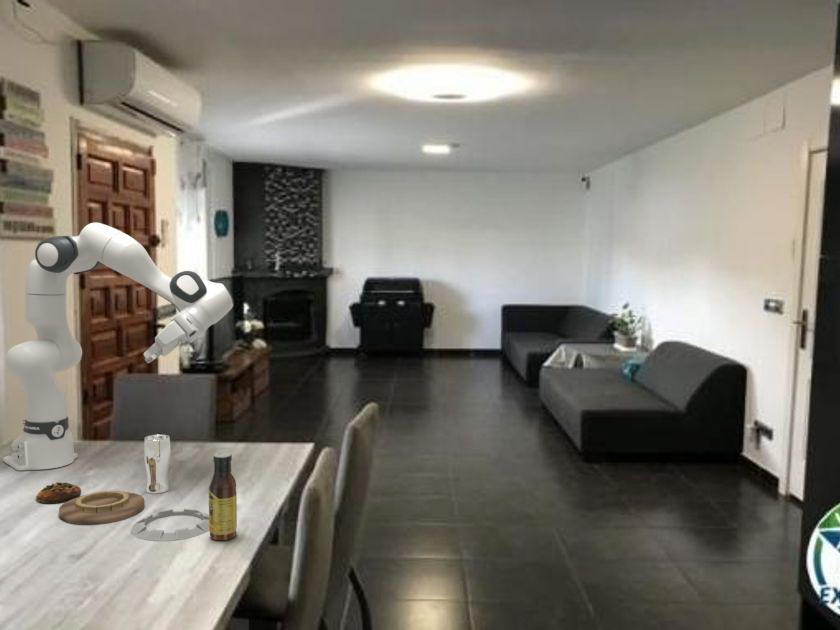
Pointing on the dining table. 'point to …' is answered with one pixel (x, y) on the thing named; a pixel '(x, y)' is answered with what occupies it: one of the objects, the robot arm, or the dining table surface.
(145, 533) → the ring
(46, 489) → the bread roll
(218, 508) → the sauce bottle
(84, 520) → the round tray
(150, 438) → the beer glass
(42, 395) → the robot arm
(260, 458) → the dining table surface
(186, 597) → the dining table surface
